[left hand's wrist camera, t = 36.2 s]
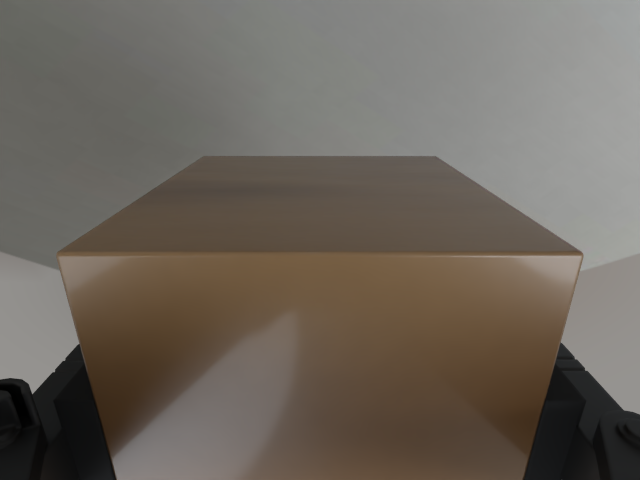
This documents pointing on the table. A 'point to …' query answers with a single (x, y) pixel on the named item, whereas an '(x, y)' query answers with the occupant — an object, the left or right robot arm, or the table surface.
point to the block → (319, 322)
